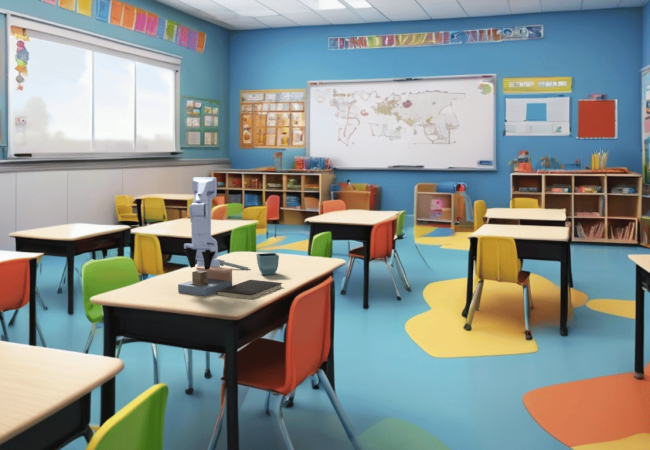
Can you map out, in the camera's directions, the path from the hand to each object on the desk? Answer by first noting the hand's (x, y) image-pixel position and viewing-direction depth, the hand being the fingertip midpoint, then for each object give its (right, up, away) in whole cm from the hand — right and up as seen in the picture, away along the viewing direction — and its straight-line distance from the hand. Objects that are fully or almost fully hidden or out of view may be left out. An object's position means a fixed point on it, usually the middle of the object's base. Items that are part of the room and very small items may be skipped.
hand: (199, 268), depth 235 cm
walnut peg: (0, -9, +1) cm, 9 cm away
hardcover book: (+20, -10, +2) cm, 22 cm away
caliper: (+4, -4, +49) cm, 49 cm away
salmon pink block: (+4, -5, +8) cm, 10 cm away
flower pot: (+23, -6, +36) cm, 43 cm away
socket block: (+2, -9, +4) cm, 10 cm away
